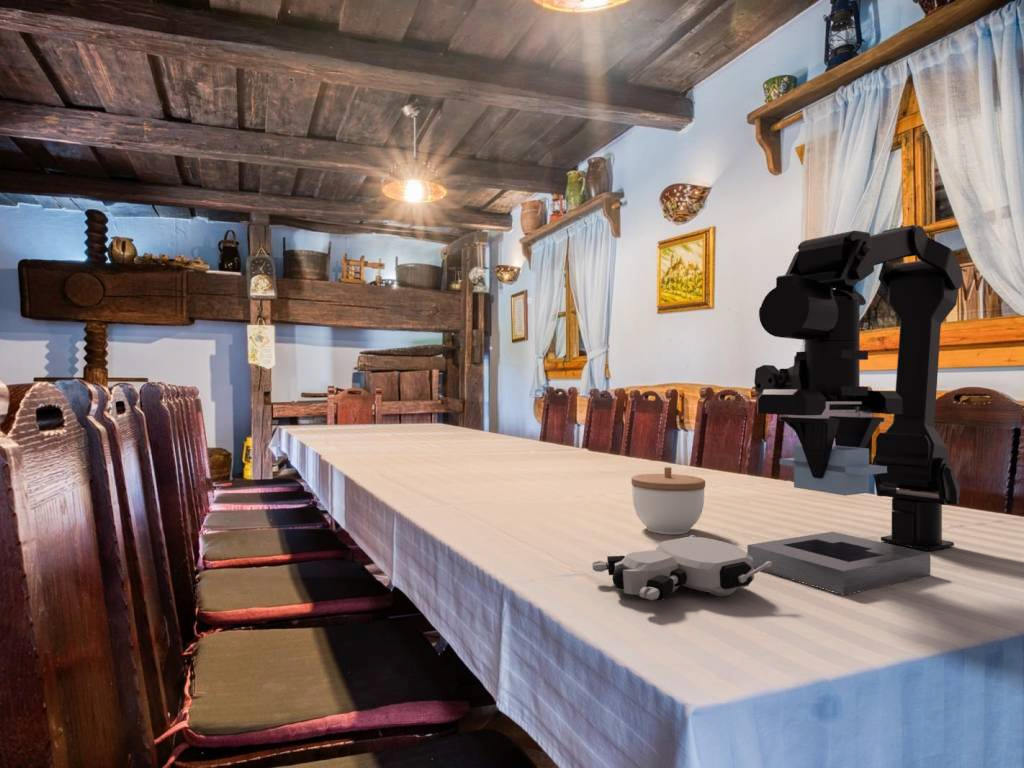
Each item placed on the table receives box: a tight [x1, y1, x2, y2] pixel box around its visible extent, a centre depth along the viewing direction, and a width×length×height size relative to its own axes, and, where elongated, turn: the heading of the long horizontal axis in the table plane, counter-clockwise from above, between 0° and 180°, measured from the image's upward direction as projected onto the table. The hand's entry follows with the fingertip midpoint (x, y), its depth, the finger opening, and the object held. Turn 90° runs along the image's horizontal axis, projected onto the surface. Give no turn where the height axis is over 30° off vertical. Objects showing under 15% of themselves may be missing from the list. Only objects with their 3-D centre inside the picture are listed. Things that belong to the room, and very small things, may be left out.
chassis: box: [746, 531, 931, 596], centre depth 72 cm, size 16×12×2 cm
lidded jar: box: [630, 466, 706, 536], centre depth 93 cm, size 11×11×9 cm
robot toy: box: [592, 534, 772, 602], centre depth 64 cm, size 12×4×15 cm
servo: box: [779, 444, 887, 497], centre depth 72 cm, size 6×10×5 cm, turn 28°
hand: (831, 477), depth 72 cm, fingers closed on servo, 4 cm apart
